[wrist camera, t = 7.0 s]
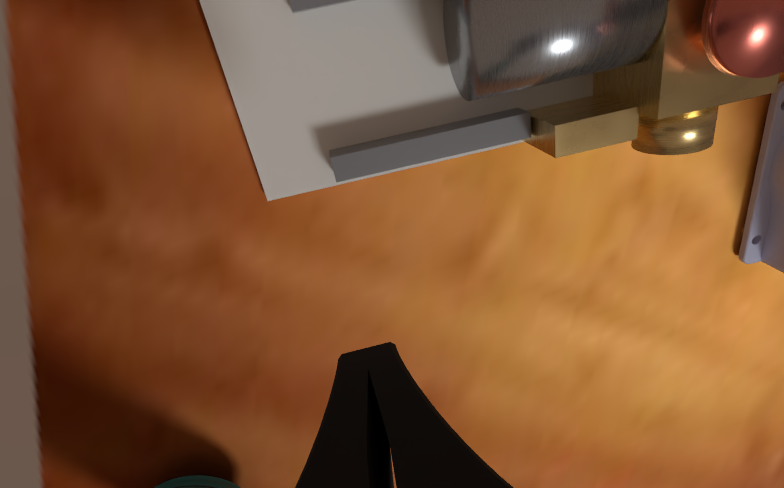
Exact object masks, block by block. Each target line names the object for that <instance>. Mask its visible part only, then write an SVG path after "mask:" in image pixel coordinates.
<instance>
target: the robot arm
mask: <svg viewBox="0 0 784 488" xmlns="http://www.w3.org/2000/svg"><path fill="white" fill-rule="evenodd" d="M783 101H784V81H782V82H780V83H779V84H778V85H777V90H776V92H775V93H772V94H771V99H770V104H769V108H768V113H767V118H766V123H765V128H764V133H763V138H762V143H761V148H760V153H759V158H758V163H757V167H756V172H755V177H754V182H753V187H752V192H751V197H750V202H749V207H748V212H747V217H746V222H745V227H744V231H743V236H742V241H741V246H740V251H739V260H740V261H742V262H744V263H746V264H751V263H755V262H759V261H762V262H764V263H766V264H768V265H770V266H771V267H773V268H775V269H777V270H779V271H781V272H783V273H784V102H783ZM782 102H783V104H782ZM781 104H782V106H781ZM390 448H391V452H390ZM391 454H392V461H393V467H394V473H395V479H396V486H397V488H513V487H512V486H511V485H510V484H509V483H507V482H506V481H505V480H504V479H503V478H501V477H500V476H499V475H498V474H497V473H496V472H495V471H494V470H493V469H492V468H491V467H490V466H489V465H487V464H486V463H485V462H484V461H483V460H482V459H481V458H480V457H479V456H478V455H477V454H476V453H475V452H474V451H473V450H472V449H471V448H470V447H469V446H468V445H467V444H466V443H465V442H464V441H463V440H462V439H461V438H460V436H459V435H458V434H457V433H456V432H455V431H454V430H453V429H452V428H451V426H450V425H449V424H448V423H447V422H446V421H445V420H444V418H443V417H442V416H441V415H440V414H439V412H438V411H437V410H436V409H435V407H434V406H433V405H432V404H431V402H430V401H429V400H428V398H427V397H426V396H425V394H424V393H423V392H422V390H421V389H420V388H419V386H418V385H417V384H416V382H415V381H414V379H413V378H412V376H411V374H410V373H409V371H408V370H407V368H406V366H405V365H404V363H403V361H402V359H401V357H400V355H399V353H398V351H397V348H396V345H395V344H393V343H391V342H388V343H384V344H380V345H376V346H372V347H368V348H364V349H360V350H356V351H353V352H349V353H345V354H342V355H341V356H340V357H339V359H338V365H337V370H336V375H335V379H334V383H333V387H332V391H331V394H330V398H329V401H328V404H327V407H326V410H325V414H324V417H323V420H322V423H321V426H320V429H319V431H318V434H317V437H316V439H315V442H314V444H313V447H312V449H311V452H310V454H309V457H308V460H307V462H306V465H305V467H304V469H303V471H302V474H301V476H300V478H299V480H298V483H297V485H296V487H295V488H394V483H393V473H392V462H391Z"/></svg>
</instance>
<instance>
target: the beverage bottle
mask: <svg viewBox="0 0 784 488" xmlns="http://www.w3.org/2000/svg"><path fill="white" fill-rule="evenodd" d="M154 488H240V487H239V486H237V485H236V484H234V483H232V482H230V481H227V480H224V479H221V478H217V477H212V476H201V475H195V476H184V477H179V478H175V479H172V480H169V481H166V482H163V483H161V484H159V485H157V486H156V487H154Z"/></svg>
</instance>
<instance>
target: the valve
mask: <svg viewBox="0 0 784 488" xmlns="http://www.w3.org/2000/svg"><path fill="white" fill-rule="evenodd" d="M783 71H784V0H668V2H667V10H666V15H665V20H664V23H663V27H662V29H661V32H660V34H659V37H658V39H657V41H656V43H655V44H654V46H653V47H652V49H651V50H650V51H649V53H648V54H647V55H646V56H645V57H644V58H643V59H641V60H640V61H639V62H637V63H635V64H632V65H628V66H623V67H619V68H614V69H610V70H606V71H601V72H597V73H593V96H588V97H584V98H579V99H575V100H571V101H566V102H562V103H557V104H553V105H549V106H544V107H540V108H535V109H531V110H527V111H528V112H530V117H531V138H527V139H523V141H524V142H526V143H528V144H530V145H532V146H534V147H536V148H538V149H539V150H541V151H543V152H545V153H547V154H549V155H551V156H553V157H554V158H558V157H562V156H567V155H571V154H575V153H579V152H584V151H588V150H592V149H596V148H601V147H605V146H609V145H613V144H618V143H622V142H626V141H631V140H632V143H631V146H632V148H633V149H635V150H637V151H640V152H643V153H648V154H656V155H679V154H688V153H694V152H698V151H702V150H705V149H707V148H709V147H711V146H712V144H713V139H714V133H715V126H716V120H717V113H718V106H719V105H723V104H728V103H732V102H736V101H740V100H745V99H749V98H753V97H758V96H762V95H766V94H771V93H775V92H776V90H777V85H778V80H779V75H780V73H781V72H783Z"/></svg>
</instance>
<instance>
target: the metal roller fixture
mask: <svg viewBox="0 0 784 488" xmlns="http://www.w3.org/2000/svg"><path fill="white" fill-rule="evenodd" d="M199 1H200V4H201V7H202V10H203V13H204V15H205V18H206V21H207V24H208V27H209V30H210V33H211V36H212V39H213V42H214V45H215V48H216V51H217V54H218V57H219V59H220V62H221V65H222V68H223V71H224V74H225V77H226V80H227V83H228V86H229V89H230V92H231V95H232V98H233V101H234V103H235V106H236V109H237V112H238V115H239V118H240V121H241V124H242V127H243V130H244V133H245V136H246V139H247V142H248V145H249V147H250V150H251V153H252V156H253V159H254V162H255V165H256V168H257V171H258V174H259V177H260V180H261V183H262V186H263V189H264V191H265V194H266V197H267V200H268V201H270V200H274V199H279V198H283V197H287V196H292V195H296V194H300V193H305V192H309V191H313V190H318V189H322V188H326V187H331V186H335V185H339V184H344V183H348V182H352V181H357V180H361V179H365V178H370V177H374V176H378V175H383V174H387V173H391V172H396V171H400V170H404V169H409V168H413V167H417V166H422V165H426V164H430V163H435V162H439V161H443V160H448V159H452V158H456V157H461V156H465V155H469V154H474V153H478V152H482V151H487V150H491V149H495V148H500V147H504V146H508V145H512V144H517V143H521V142H524V141H523V139H527V138H531V117H530V112H528V111H527V110H531V109H535V108H540V107H544V106H549V105H553V104H557V103H562V102H566V101H571V100H575V99H579V98H584V97H588V96H593V73H592V74H588V75H583V76H579V77H575V78H570V79H566V80H561V81H557V82H552V83H548V84H543V85H539V86H535V87H530V88H526V89H521V90H517V91H512V92H508V93H504V94H499V95H495V96H490V97H486V98H481V99H477V100H472V101H466V100H465V99H464V98H463V97H462V96H461V95H460V93H459V91H458V89H457V87H456V85H455V82H454V80H453V77H452V73H451V70H450V66H449V62H448V57H447V51H446V45H445V37H444V25H443V1H444V0H199Z"/></svg>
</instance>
